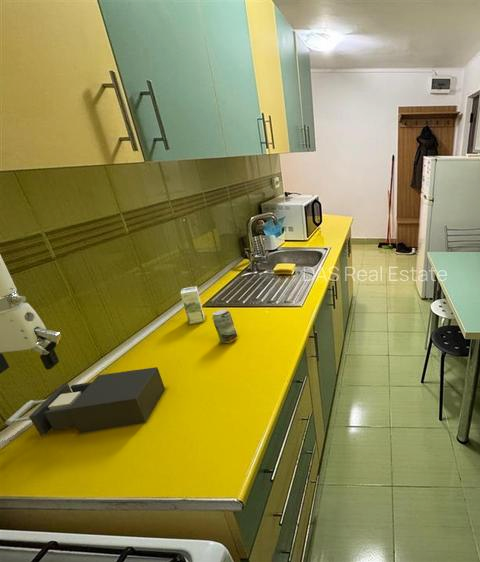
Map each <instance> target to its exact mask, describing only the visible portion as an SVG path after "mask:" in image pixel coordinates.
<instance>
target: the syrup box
mask: <svg viewBox="0 0 480 562" xmlns="http://www.w3.org/2000/svg"><path fill="white" fill-rule="evenodd" d="M180 297H181V300H182V304H183V308H184V310H185V314H186V318H187V321H188V325H189V326H190V325H194V324H200V323H203V322H205V313H204V310H203V305H202V301H201V297H200V294H199V290H198V286H196V285H195V286H189V287H184V288H181V289H180Z"/></svg>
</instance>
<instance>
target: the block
mask: <svg viewBox="0 0 480 562" xmlns="http://www.w3.org/2000/svg"><path fill="white" fill-rule="evenodd" d="M81 394H82V393H81V391H80V392H72V393H66V394H60V395H59V396H58V397H57V398H56V399H55V400H54V401H53V402H52V403H51V404H50V405H49V406H48V408H49V410H54V409H60V408H67V407H70V406H71V404H72V403H73V402H74V401H75V400H76V399H77V398H78V397H79V396H80V395H81Z"/></svg>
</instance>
